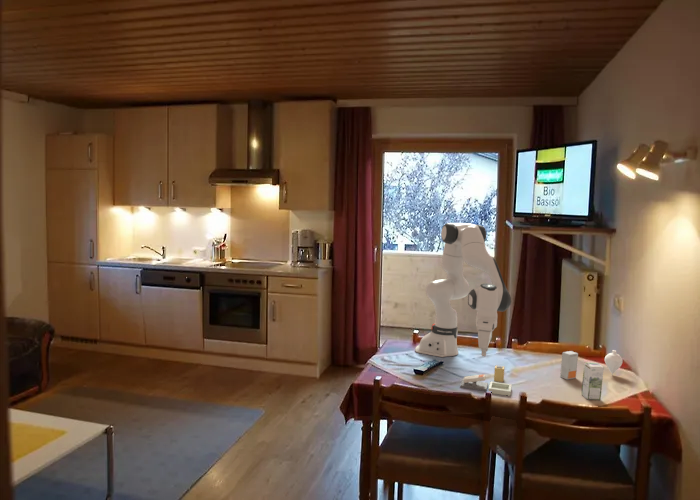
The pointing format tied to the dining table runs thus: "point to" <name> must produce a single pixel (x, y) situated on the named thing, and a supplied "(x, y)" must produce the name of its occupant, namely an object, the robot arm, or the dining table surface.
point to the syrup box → (592, 381)
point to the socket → (500, 388)
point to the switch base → (474, 385)
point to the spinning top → (613, 361)
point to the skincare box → (569, 365)
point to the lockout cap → (499, 373)
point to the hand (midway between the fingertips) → (484, 353)
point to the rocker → (474, 378)
